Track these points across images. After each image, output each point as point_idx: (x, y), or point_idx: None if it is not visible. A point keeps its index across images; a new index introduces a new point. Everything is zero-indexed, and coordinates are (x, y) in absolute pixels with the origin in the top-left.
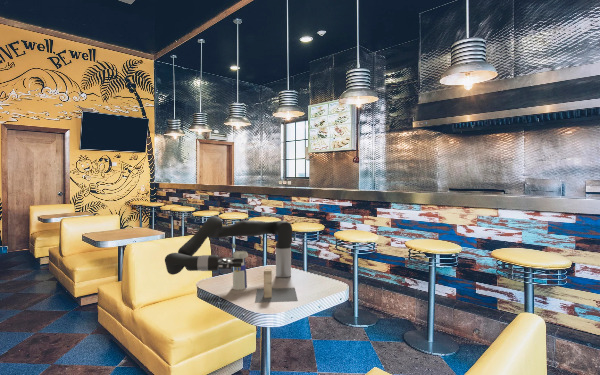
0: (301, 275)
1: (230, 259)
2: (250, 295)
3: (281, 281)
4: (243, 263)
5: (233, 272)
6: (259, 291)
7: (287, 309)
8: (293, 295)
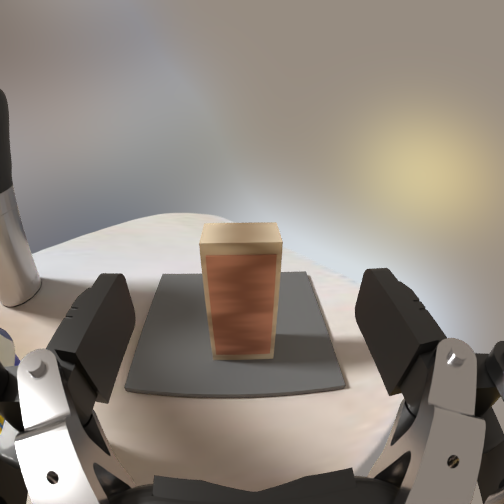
0: (51, 258)
1: (89, 453)
2: (211, 423)
3: (66, 301)
4: (6, 342)
5: None
6: (172, 379)
7: None
8: None
